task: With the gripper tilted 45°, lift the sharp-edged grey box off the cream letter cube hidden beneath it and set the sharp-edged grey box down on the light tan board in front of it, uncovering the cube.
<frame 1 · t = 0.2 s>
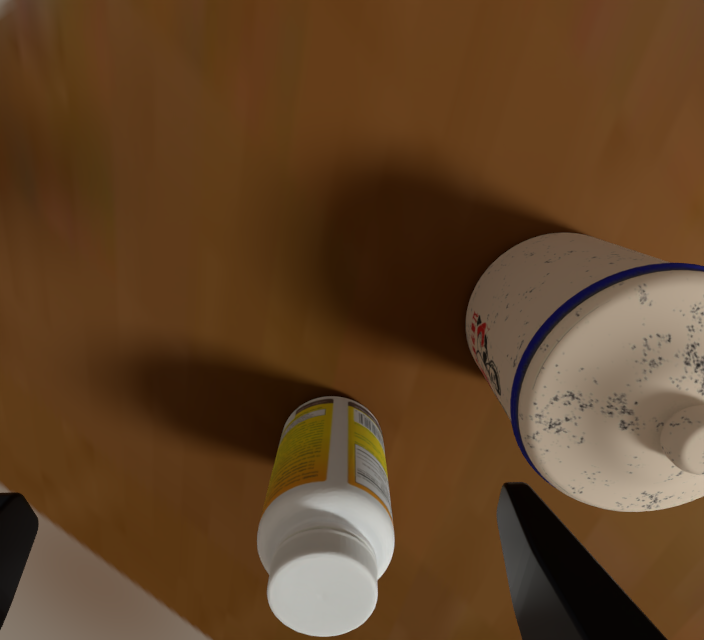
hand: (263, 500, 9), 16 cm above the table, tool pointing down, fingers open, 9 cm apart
teacup with lid: (563, 334, 25), on the table
supplement bottle: (333, 434, 27), on the table
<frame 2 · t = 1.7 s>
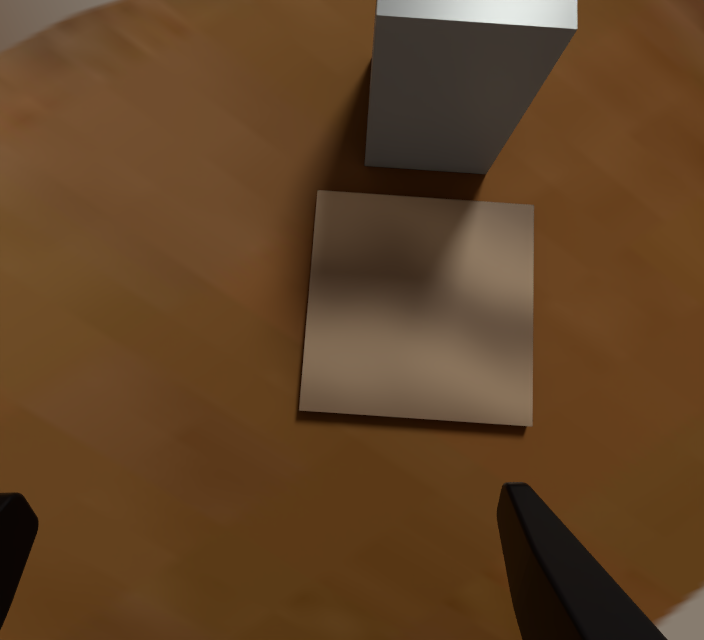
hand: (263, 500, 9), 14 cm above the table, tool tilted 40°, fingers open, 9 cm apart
sharp-edged grey box: (427, 114, 25), on the table
light tan board: (419, 306, 24), on the table
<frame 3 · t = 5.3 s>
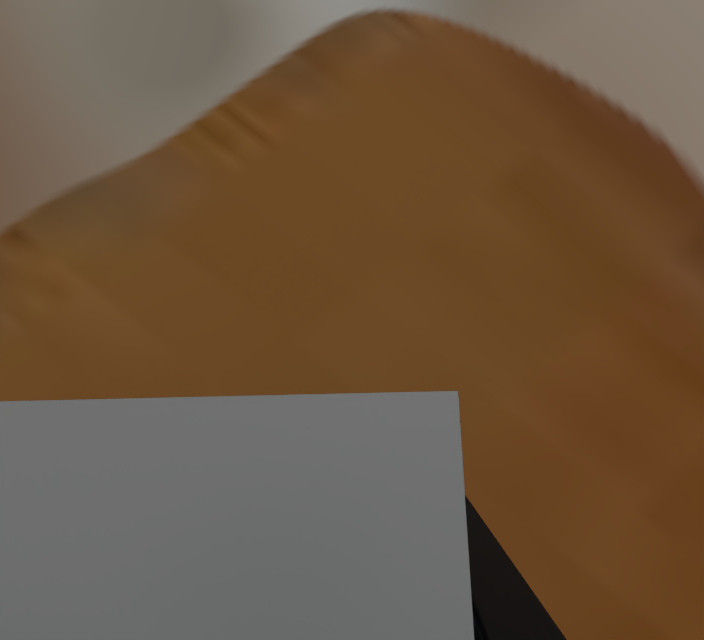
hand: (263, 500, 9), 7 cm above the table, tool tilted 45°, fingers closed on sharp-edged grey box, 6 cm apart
sharp-edged grey box: (306, 508, 16), on the table, touching gripper
when the fingers open (9 cm above the table, at t = 9.5 s): sharp-edged grey box drops 1 cm, resting on light tan board.
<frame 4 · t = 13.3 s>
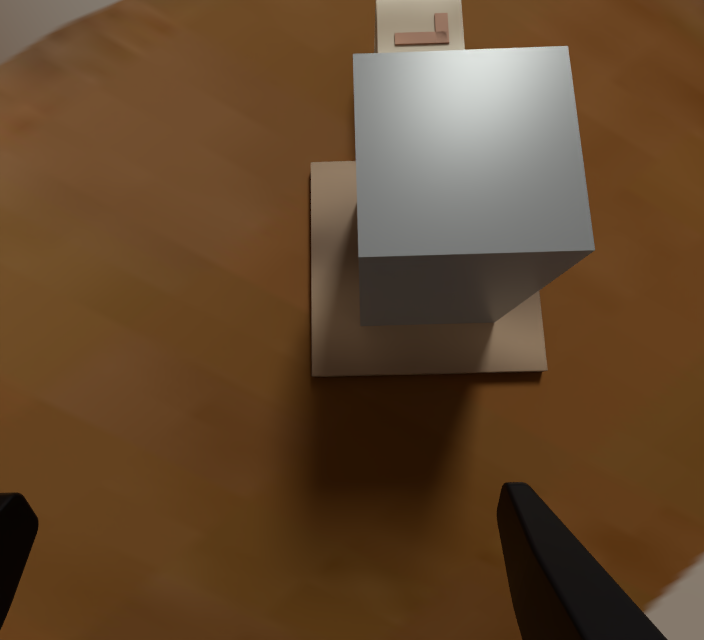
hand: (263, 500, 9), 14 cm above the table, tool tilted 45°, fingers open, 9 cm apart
sharp-edged grey box: (423, 260, 23), point 1 cm above the table, touching light tan board
light tan board: (421, 264, 24), on the table
letter cube: (415, 55, 24), on the table
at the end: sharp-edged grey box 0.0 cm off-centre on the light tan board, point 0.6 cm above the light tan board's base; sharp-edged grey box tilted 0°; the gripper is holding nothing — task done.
